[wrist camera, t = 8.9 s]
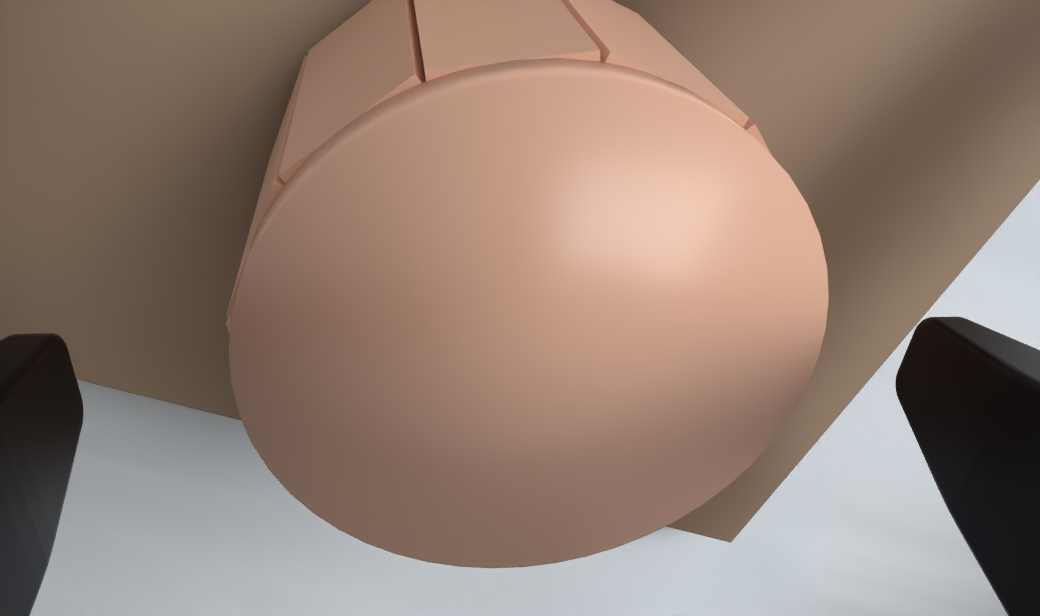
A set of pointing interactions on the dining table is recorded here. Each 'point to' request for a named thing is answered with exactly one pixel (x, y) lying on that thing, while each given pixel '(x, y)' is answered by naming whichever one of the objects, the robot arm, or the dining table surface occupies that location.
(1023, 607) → the robot arm
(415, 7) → the cap
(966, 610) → the dining table surface
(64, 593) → the dining table surface
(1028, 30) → the post board
